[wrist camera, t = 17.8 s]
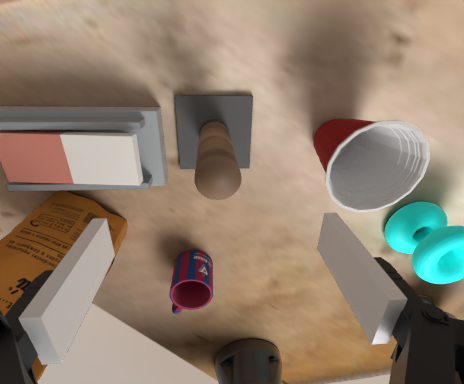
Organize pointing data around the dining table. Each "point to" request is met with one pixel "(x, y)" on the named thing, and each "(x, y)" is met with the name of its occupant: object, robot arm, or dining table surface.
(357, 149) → the plastic cup
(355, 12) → the dining table surface
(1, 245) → the coffee package
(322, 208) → the dining table surface
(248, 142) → the mat
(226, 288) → the dining table surface
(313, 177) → the dining table surface
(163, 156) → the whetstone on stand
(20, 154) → the rocker
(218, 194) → the wooden pestle
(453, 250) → the donuts
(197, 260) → the cup
